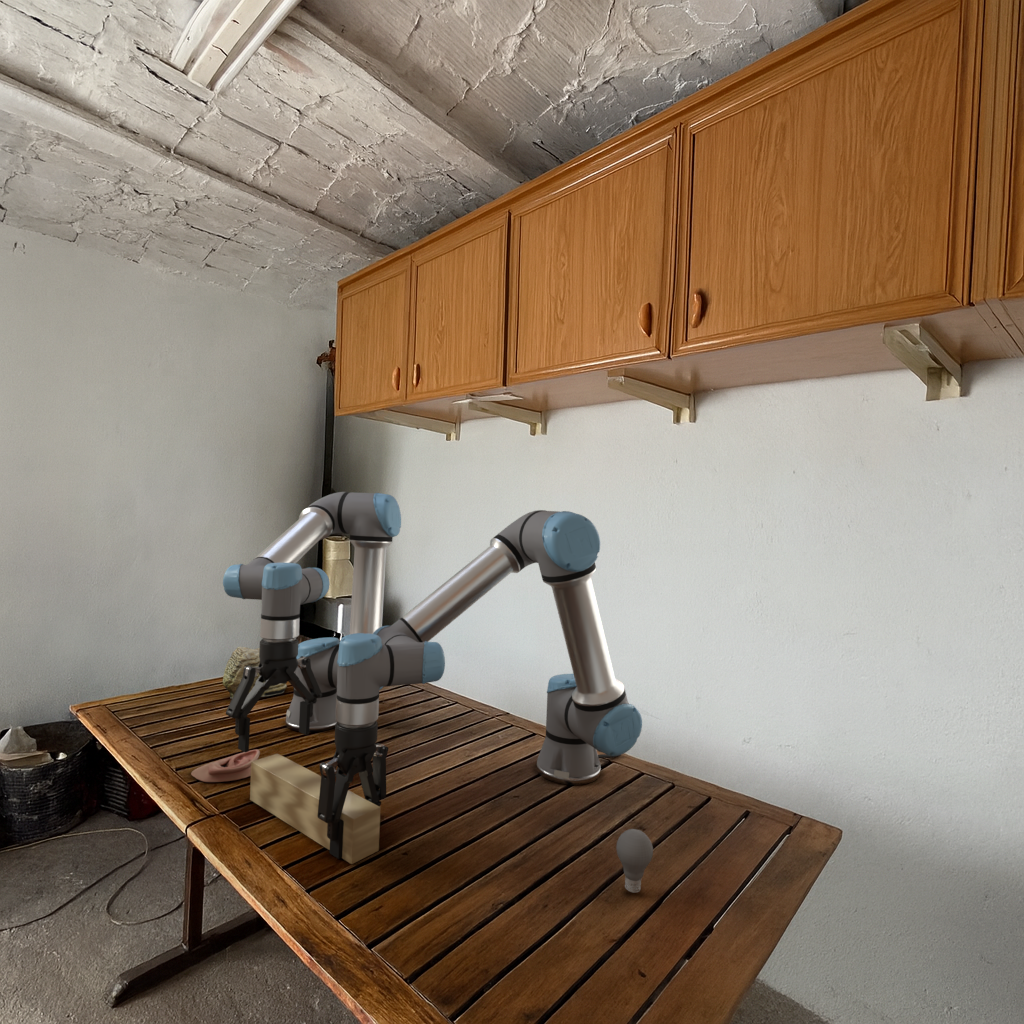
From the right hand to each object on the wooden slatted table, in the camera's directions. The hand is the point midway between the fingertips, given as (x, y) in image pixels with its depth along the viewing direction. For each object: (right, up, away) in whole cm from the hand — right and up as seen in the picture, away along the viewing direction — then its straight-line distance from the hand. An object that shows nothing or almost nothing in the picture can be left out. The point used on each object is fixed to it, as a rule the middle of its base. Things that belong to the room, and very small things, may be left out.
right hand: (351, 847), depth 115 cm
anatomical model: (-36, +2, +28) cm, 46 cm away
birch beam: (-10, 0, +8) cm, 13 cm away
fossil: (-51, +4, +83) cm, 98 cm away
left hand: (-20, +13, +16) cm, 29 cm away
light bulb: (+49, -3, -9) cm, 50 cm away
